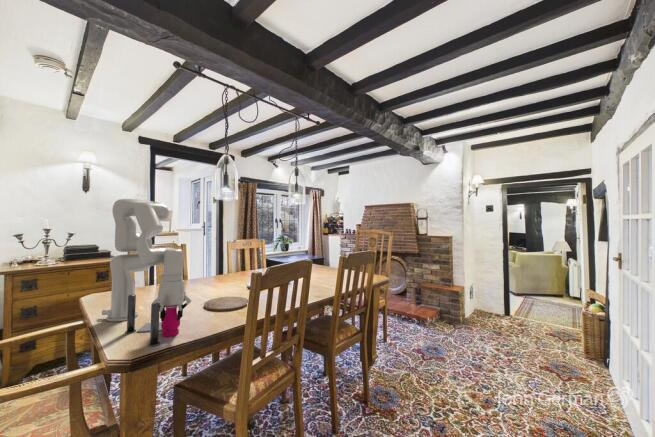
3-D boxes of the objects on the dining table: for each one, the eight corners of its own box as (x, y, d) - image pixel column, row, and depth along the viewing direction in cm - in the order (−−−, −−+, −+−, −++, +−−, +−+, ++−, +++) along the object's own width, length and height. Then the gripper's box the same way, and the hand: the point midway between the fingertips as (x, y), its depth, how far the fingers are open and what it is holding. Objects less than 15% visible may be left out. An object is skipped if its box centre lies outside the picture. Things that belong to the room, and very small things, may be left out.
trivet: (234, 313, 147) (234, 310, 147) (194, 310, 152) (194, 306, 152) (255, 301, 171) (255, 298, 171) (220, 298, 176) (220, 295, 176)
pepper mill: (166, 331, 121) (167, 286, 121) (182, 331, 121) (184, 286, 122) (157, 338, 114) (158, 290, 114) (175, 337, 114) (176, 290, 115)
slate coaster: (136, 332, 119) (136, 331, 119) (146, 324, 128) (146, 323, 128) (162, 330, 121) (162, 329, 121) (169, 322, 131) (169, 321, 131)
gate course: (102, 350, 102) (104, 307, 102) (130, 328, 123) (131, 292, 124) (163, 345, 107) (164, 304, 107) (179, 325, 128) (180, 291, 128)
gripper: (146, 280, 112) (145, 324, 112) (192, 279, 116) (190, 321, 116) (154, 276, 119) (152, 317, 119) (196, 275, 123) (195, 315, 123)
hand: (171, 319), depth 117 cm, fingers closed on pepper mill, 5 cm apart
